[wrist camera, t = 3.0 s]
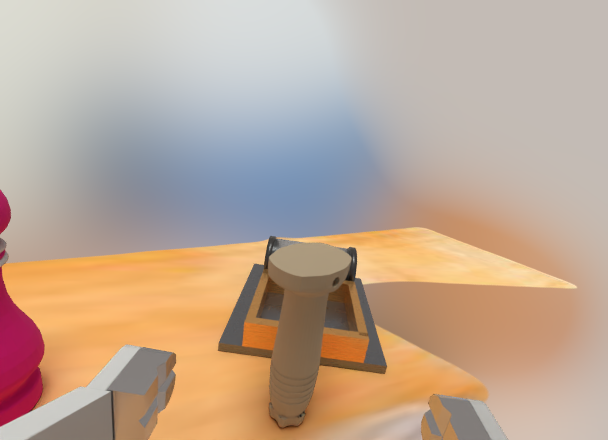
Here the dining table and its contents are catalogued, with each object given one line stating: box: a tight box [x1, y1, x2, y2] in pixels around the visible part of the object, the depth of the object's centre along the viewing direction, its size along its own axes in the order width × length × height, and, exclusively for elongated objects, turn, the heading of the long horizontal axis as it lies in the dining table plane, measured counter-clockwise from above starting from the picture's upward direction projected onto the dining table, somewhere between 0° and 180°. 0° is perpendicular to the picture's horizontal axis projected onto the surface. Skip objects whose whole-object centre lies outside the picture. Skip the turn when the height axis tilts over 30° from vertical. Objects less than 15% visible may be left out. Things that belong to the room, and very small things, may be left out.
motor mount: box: [218, 236, 387, 374], centre depth 40 cm, size 18×19×7 cm
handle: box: [268, 243, 352, 428], centre depth 23 cm, size 5×6×15 cm
